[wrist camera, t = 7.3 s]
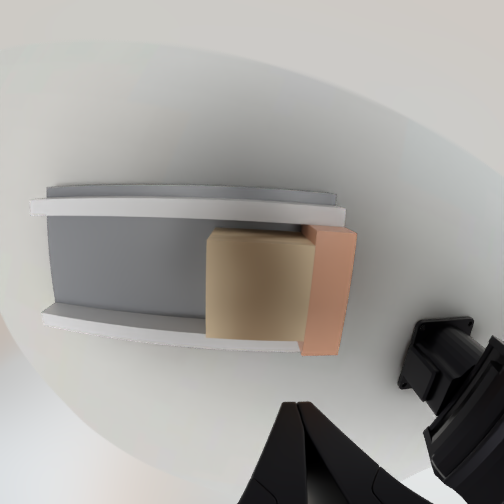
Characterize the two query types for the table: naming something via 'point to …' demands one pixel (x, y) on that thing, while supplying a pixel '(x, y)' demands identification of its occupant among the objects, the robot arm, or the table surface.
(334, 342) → the channel
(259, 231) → the tan block
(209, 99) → the table surface
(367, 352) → the table surface
